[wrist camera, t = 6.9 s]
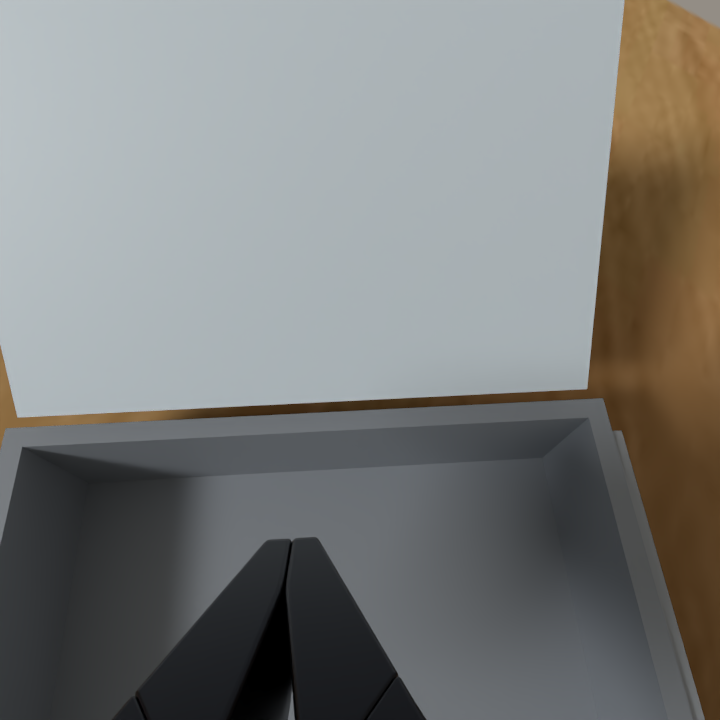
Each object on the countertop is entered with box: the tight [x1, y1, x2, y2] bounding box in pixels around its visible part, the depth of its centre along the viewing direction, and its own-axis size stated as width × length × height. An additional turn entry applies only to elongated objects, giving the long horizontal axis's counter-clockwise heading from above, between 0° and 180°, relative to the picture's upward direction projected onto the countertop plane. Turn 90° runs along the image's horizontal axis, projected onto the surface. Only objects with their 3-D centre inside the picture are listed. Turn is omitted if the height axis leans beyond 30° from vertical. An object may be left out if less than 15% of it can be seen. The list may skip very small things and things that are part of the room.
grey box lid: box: [0, 0, 624, 417], centre depth 14 cm, size 1×16×10 cm
